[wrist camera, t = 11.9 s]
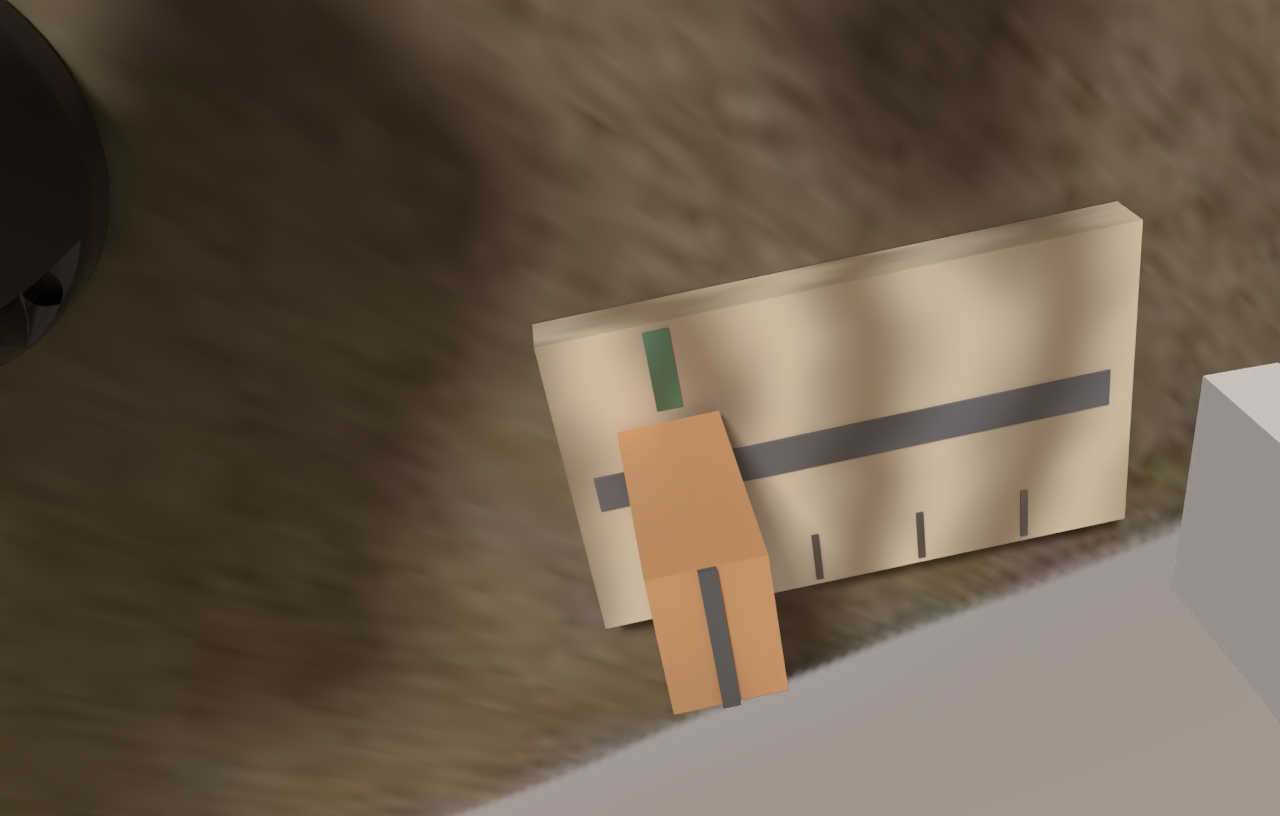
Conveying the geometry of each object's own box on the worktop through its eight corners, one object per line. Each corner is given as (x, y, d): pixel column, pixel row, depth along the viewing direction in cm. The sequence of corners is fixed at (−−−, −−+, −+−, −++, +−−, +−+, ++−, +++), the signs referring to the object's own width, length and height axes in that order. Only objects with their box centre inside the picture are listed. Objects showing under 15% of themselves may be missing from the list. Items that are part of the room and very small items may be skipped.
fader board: (602, 598, 50) (605, 630, 49) (532, 324, 43) (533, 349, 41) (1103, 492, 51) (1125, 519, 49) (1117, 201, 43) (1144, 221, 42)
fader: (643, 553, 46) (674, 718, 38) (616, 432, 43) (644, 585, 35) (738, 533, 46) (790, 694, 38) (718, 410, 43) (769, 558, 35)
